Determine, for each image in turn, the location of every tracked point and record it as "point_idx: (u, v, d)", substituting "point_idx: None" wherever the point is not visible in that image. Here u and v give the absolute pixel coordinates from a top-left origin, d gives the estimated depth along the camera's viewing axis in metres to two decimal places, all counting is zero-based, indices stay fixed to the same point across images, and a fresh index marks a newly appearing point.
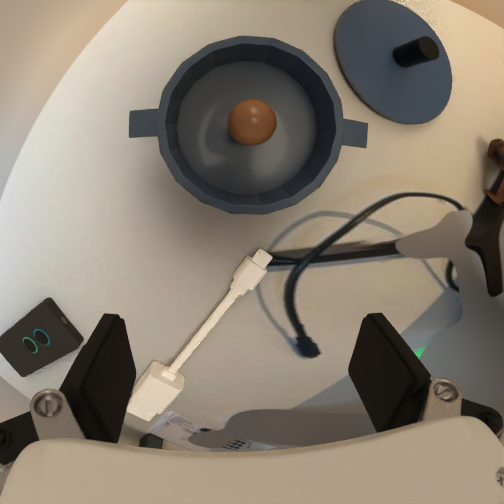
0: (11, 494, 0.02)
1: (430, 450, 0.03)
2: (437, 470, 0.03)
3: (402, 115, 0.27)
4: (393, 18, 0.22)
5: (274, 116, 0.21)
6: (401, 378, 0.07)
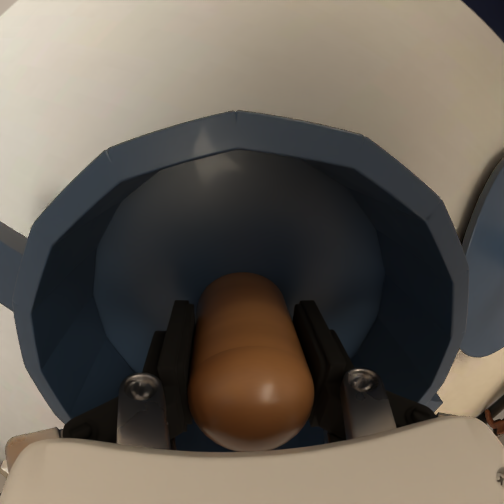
0: (11, 494, 0.02)
1: (430, 450, 0.03)
2: (437, 470, 0.03)
3: (475, 346, 0.15)
4: None
5: (308, 417, 0.08)
6: (316, 363, 0.08)
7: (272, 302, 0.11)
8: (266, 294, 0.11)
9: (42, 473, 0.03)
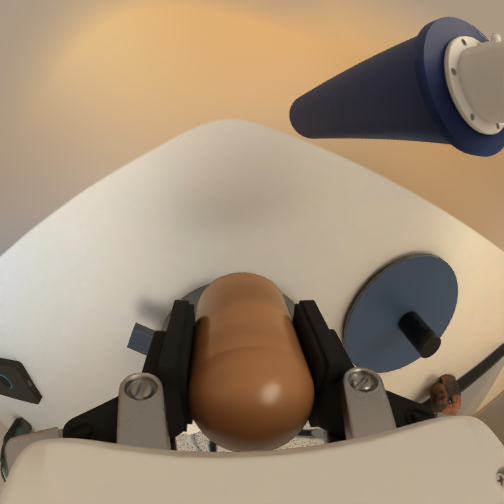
0: (11, 494, 0.02)
1: (430, 450, 0.03)
2: (437, 470, 0.03)
3: (371, 366, 0.32)
4: (429, 280, 0.28)
5: (308, 417, 0.08)
6: (316, 363, 0.08)
7: (272, 303, 0.11)
8: (266, 294, 0.11)
9: (42, 473, 0.03)
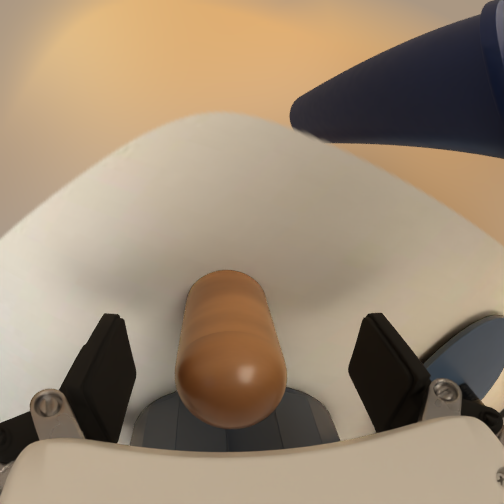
0: (11, 494, 0.02)
1: (430, 450, 0.03)
2: (437, 470, 0.03)
3: None
4: (489, 346, 0.18)
5: (281, 397, 0.09)
6: (401, 378, 0.07)
7: (251, 296, 0.12)
8: (246, 289, 0.12)
9: (42, 473, 0.03)
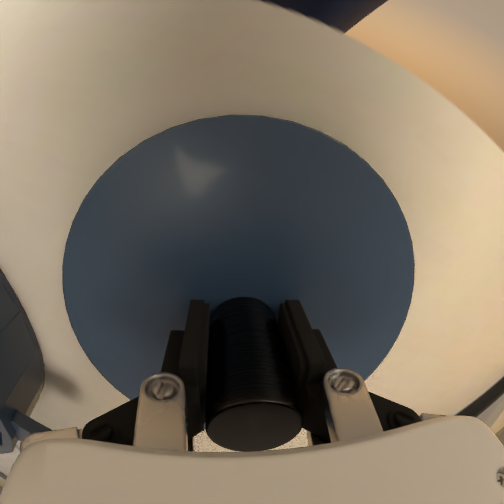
0: (11, 494, 0.02)
1: (430, 450, 0.03)
2: (437, 470, 0.03)
3: None
4: (288, 200, 0.10)
5: None
6: (297, 363, 0.08)
7: None
8: None
9: (42, 473, 0.03)
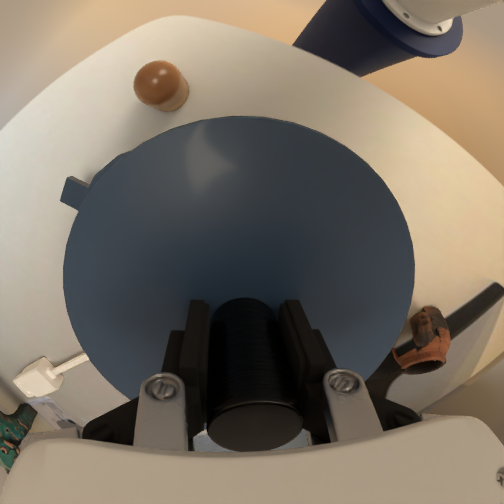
0: (11, 494, 0.02)
1: (430, 450, 0.03)
2: (437, 470, 0.03)
3: None
4: (289, 201, 0.10)
5: (175, 82, 0.19)
6: (297, 363, 0.08)
7: None
8: None
9: (42, 473, 0.03)
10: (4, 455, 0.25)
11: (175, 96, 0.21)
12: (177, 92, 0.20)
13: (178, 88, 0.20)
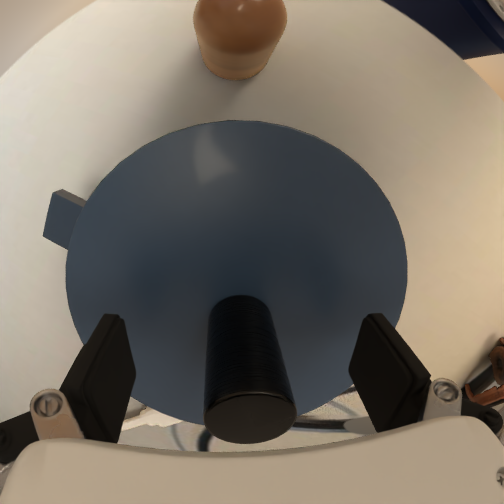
0: (11, 494, 0.02)
1: (430, 450, 0.03)
2: (437, 470, 0.03)
3: (184, 413, 0.15)
4: (283, 202, 0.11)
5: (283, 16, 0.09)
6: (401, 378, 0.07)
7: None
8: None
9: (42, 473, 0.03)
10: None
11: (274, 45, 0.10)
12: (280, 37, 0.10)
13: None
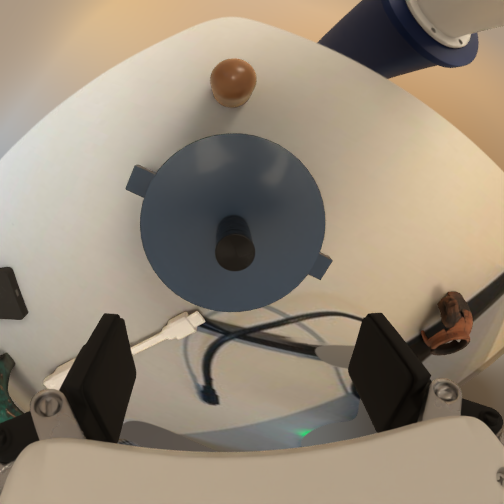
0: (11, 494, 0.02)
1: (430, 450, 0.03)
2: (437, 470, 0.03)
3: (198, 298, 0.27)
4: (252, 169, 0.24)
5: (253, 80, 0.21)
6: (401, 378, 0.07)
7: None
8: None
9: (42, 473, 0.03)
10: None
11: (250, 93, 0.23)
12: None
13: (254, 86, 0.22)
